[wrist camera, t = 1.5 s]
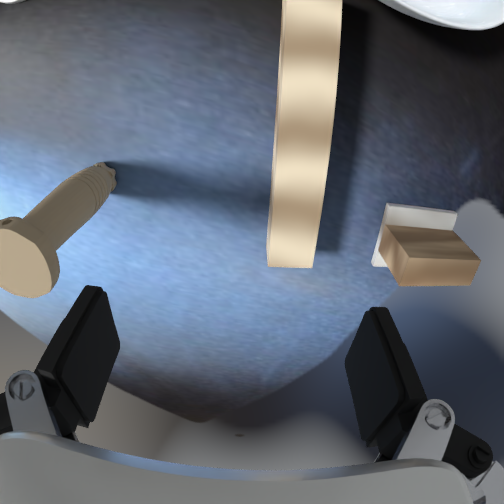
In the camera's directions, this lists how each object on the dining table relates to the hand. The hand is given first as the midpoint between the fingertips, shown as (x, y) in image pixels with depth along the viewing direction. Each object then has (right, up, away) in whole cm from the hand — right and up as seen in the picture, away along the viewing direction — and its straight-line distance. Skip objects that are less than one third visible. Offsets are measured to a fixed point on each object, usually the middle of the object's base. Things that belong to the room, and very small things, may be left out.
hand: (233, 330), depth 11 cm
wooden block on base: (+18, +4, +20) cm, 27 cm away
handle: (-14, +10, +16) cm, 23 cm away
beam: (+5, +14, +14) cm, 20 cm away
